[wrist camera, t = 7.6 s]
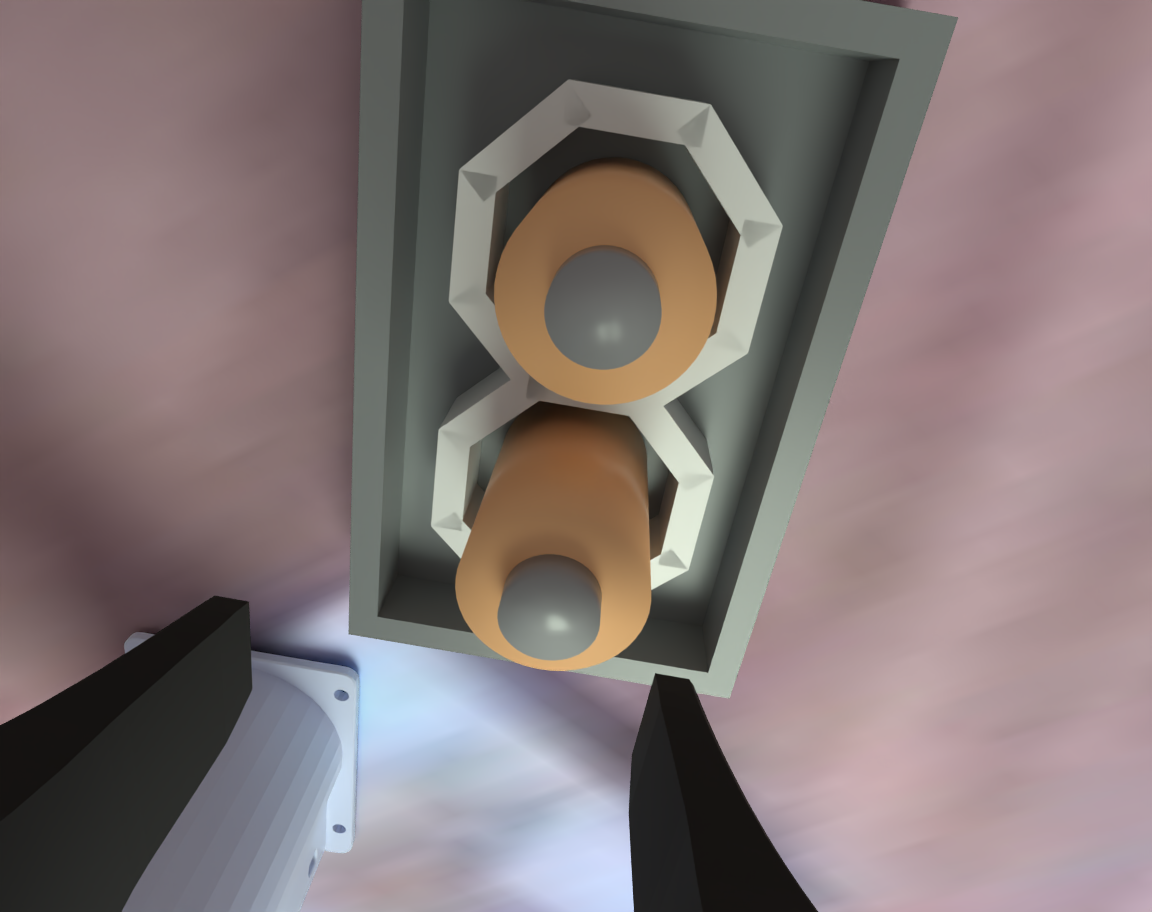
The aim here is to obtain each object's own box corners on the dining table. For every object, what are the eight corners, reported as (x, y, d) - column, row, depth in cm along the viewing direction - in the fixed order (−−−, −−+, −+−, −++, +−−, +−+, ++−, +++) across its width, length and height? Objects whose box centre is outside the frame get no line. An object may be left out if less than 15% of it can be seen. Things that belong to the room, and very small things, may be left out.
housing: (718, 629, 24) (747, 814, 18) (380, 572, 24) (294, 738, 18) (905, 27, 16) (1064, -4, 10) (408, -60, 16) (274, -143, 10)
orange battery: (631, 534, 22) (630, 712, 15) (494, 510, 21) (438, 679, 15) (660, 408, 20) (672, 553, 14) (510, 381, 20) (455, 516, 14)
